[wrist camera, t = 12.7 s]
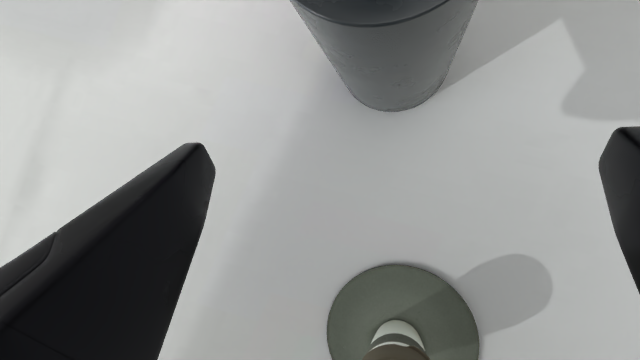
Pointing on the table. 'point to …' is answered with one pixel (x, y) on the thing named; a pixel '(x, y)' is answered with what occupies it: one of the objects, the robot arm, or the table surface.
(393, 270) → the coffee cup
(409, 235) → the table surface
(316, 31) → the flask
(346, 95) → the table surface
